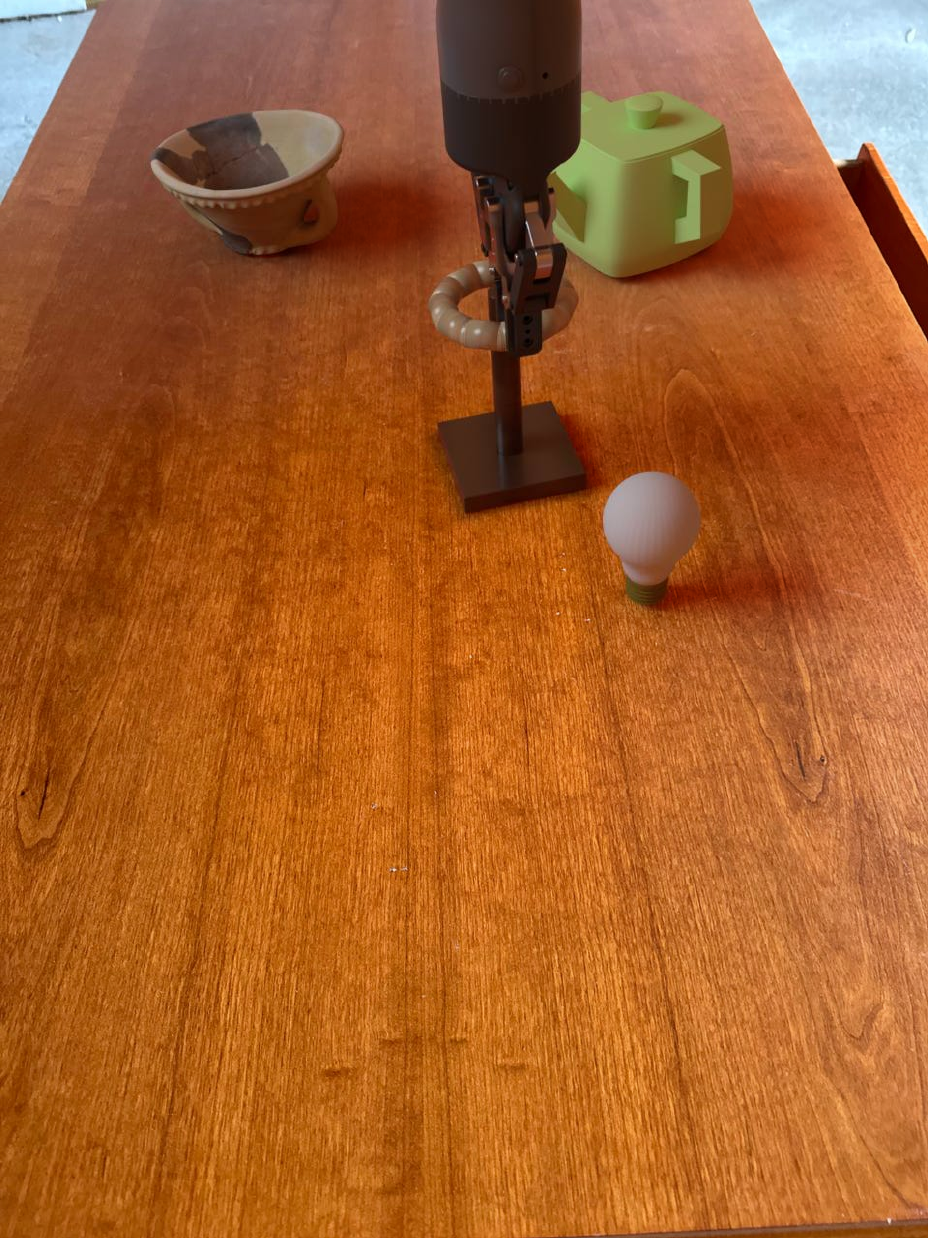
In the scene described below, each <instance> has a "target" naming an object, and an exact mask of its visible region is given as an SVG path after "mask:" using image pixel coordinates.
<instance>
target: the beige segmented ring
mask: <svg viewBox="0 0 928 1238" xmlns="http://www.w3.org/2000/svg"><path fill="white" fill-rule="evenodd" d="M488 267H489V259H483V260H478V261H473V262H470V263H468V264H466V265H463V266H462V267H460V268H458V269H456V270H455V271H453V272H451V273H449V274H447V275H445V276H444V277H442V278H441V280H440V281H439V282H438V285H437V286H436V287H435V289H434V291H433V293H432V294H431V295H430V298H429V300H428V304H427V307H428V311H429V314H430V316H431V319H432V321H433V323H434V327H435V330H436V331H437V332H438V333H439V334H440V335H441V336H443V337H445V338H447V339H449V340H451V341H453V342H455V343H456V344H458V345H460V346H462V347H465V348H467V349H473V350H483V351H490V352H491V351H500V352H503V351H507V349H506V340H505V321H504V322H495V321H489V320H484V319H475V318H473V317H471V316H469V315H467V314H465V313H463V312H462V311H460V310H459V307H458V306H459V304H460V303H461V301H462V300H463V299H464V298H467V297H468V296H470V295H472V294H474V293H476V292H477V291H479V290H483V289H489V288H490V287H491V286H493V285H494V282H496V281H498V280H494V281H493V280H492V278H491V275H489V271H488ZM579 300H580V299H579V294H578V291H577V290H576V288H575V286H574V285H573V283H572V281H571V279H570V277H569V275H568V274H567V273H566V272H565V271H564V273H563V277H562V280H561V284H560V288H559V291H558V295H557V299H556V303H555V306H554V308H552V309H547V310H542V343H544V342H545V341H547V340H549V339H550V338H552V337H554V336H555V335H557V334H558V333H561V332H562V331H564V330H566V329H567V328H568V326H569V324H570V323H571V321H572V319H573V316H574V314H575V312H576V309H578V305H579V303H580V302H579Z"/></svg>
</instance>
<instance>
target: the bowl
mask: <svg viewBox="0 0 928 1238" xmlns="http://www.w3.org/2000/svg"><path fill="white" fill-rule="evenodd" d="M345 134H346V133H345V129H344V127H343V126H342V124H341V123H340V122H339V121H338V120H336V118H334V117H332V116H330V115H327V114H323V113H321V112H316V111H311V110H305V109H274V110H273V109H272V110H271V109H269V110H268V109H267V110H256V111H250V112H243V113H235V114H231V115H225V116H221V117H216V118H213V119H212V118H211V119H210V120H206V121H201V122H198V123H196V124H193V125H190V126H188V127H186V128H184V129H183V130H180V131H178V132H176V133H174V134H172V135H171V136H169V137H167V138H166V139H165V140H163V141H162V142H161V143H160V144H159V145H158V146H157V148H155V150H154V151H153V153H152V154H151V158H150V168H151V170H152V172H153V174H154V176H155V177H156V178H157V179H158V180H159V182H160V184H161V185H162V187H163V188H164V189H165V191H166V192H168V193H169V194H170V195H171V196H172V197H175V199H177V200H178V201H179V203H180V204H181V206H182V207H183V209H184V210H185V211H186V212H187V213H188V215H189V216H190V217H192V218H193V219H194V220H195V221H196V222H198V223H199V224H200V225H201V226H203V227H204V228H206V229H208V230H210V231H212V232H215V233H217V234H219V235H220V236H221V241H222V242H223V243H224V246H225V247H226V248H227V249H229V250H230V251H232V252H235V253H238V254H241V255H256V256H263V255H273V254H278V253H280V252H283V251H285V250H287V249H291V248H295V247H298V246H299V247H300V246H307V245H311V244H315V243H317V242H319V241H321V240H323V239H324V238H325V237H327V236H328V235H329V234H331V233H332V231H333V230H334V229H335V227H336V225H337V222H338V219H339V218H338V216H339V214H338V213H339V211H338V210H339V208H338V203H337V199H336V196H335V193H334V190H333V187H332V185H331V184H330V181H329V179H328V176H327V174H328V172H329V171H330V170H331V169H333V168H334V167H335V164H336V163H337V162H338V161H340V159H341V155H342V152H343V144H344V140H345ZM313 202H314V204H315V205H316V207H317V211H318V215H317V218H316V219H314V220H310V221H307V220H306V216H307V213H308V211H309V210H310V207H311V206H312V203H313Z"/></svg>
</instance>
